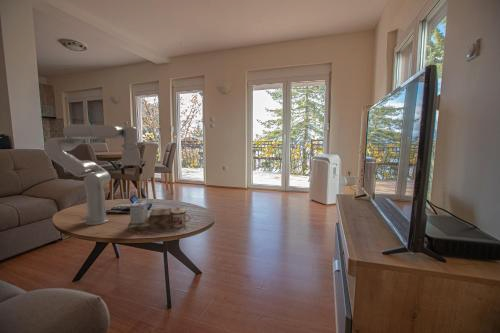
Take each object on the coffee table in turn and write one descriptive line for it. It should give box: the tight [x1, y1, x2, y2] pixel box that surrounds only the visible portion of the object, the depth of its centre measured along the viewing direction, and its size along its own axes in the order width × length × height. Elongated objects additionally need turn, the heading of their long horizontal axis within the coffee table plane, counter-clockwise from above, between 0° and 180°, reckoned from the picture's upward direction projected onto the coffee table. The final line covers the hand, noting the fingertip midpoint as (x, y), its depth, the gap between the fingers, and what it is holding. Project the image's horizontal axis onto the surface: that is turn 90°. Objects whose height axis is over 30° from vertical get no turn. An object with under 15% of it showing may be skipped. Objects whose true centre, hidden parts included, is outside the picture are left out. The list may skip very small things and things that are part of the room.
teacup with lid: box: [171, 205, 191, 229], centre depth 143 cm, size 12×9×12 cm
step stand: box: [128, 207, 172, 236], centre depth 138 cm, size 22×17×9 cm
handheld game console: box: [129, 194, 153, 211], centre depth 179 cm, size 16×13×9 cm
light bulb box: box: [129, 200, 149, 224], centre depth 138 cm, size 11×7×11 cm, turn 9°
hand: (132, 174), depth 146 cm, fingers open, 9 cm apart
